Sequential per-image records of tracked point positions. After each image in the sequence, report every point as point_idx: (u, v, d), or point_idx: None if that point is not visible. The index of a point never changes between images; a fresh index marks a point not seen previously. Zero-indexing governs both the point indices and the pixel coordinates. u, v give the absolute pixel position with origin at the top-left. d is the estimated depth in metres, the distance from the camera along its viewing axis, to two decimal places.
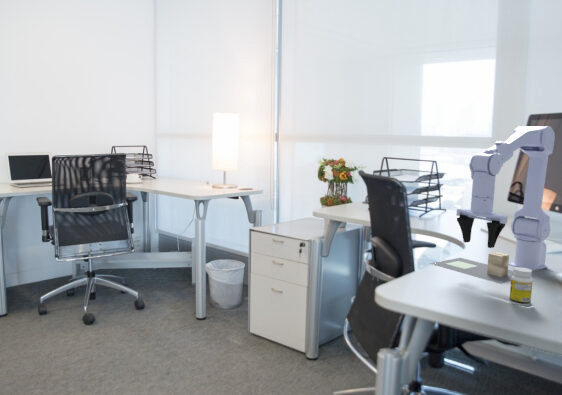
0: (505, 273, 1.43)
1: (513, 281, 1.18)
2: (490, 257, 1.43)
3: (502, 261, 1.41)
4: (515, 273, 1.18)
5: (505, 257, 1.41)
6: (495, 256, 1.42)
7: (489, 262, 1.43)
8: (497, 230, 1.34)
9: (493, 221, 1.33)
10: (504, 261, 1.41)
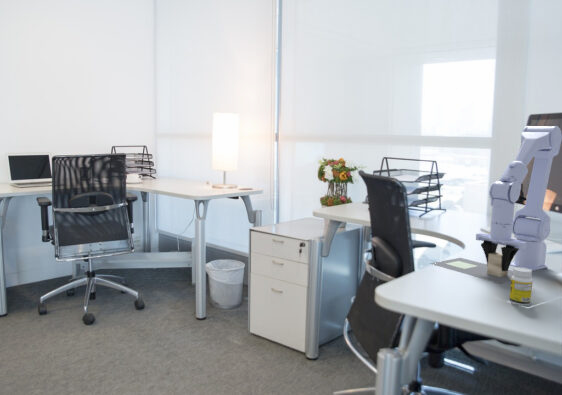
0: (505, 273, 1.43)
1: (513, 281, 1.18)
2: (490, 257, 1.43)
3: None
4: (515, 273, 1.18)
5: None
6: (495, 256, 1.42)
7: (489, 262, 1.43)
8: (511, 254, 1.41)
9: (512, 247, 1.39)
10: None
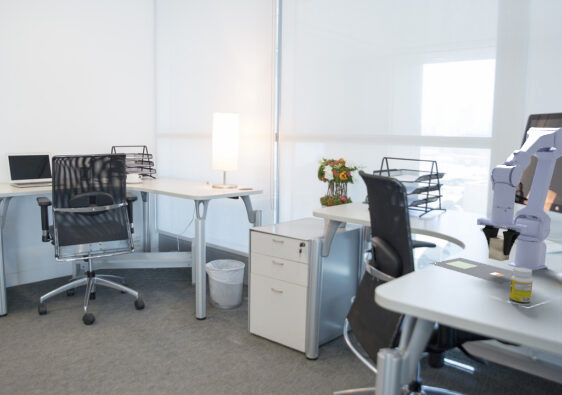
0: (507, 257, 1.42)
1: (513, 281, 1.18)
2: (491, 241, 1.42)
3: (503, 246, 1.40)
4: (515, 273, 1.18)
5: None
6: (496, 240, 1.41)
7: (490, 247, 1.43)
8: (512, 238, 1.40)
9: (514, 231, 1.38)
10: None
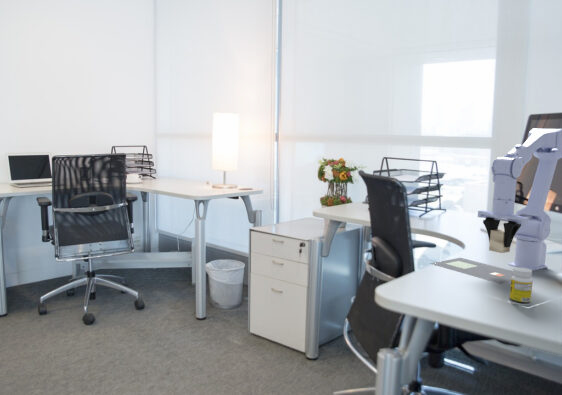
0: (507, 249, 1.42)
1: (513, 281, 1.18)
2: (492, 233, 1.42)
3: None
4: (515, 273, 1.18)
5: None
6: (497, 232, 1.41)
7: (491, 239, 1.42)
8: (513, 230, 1.40)
9: (514, 222, 1.38)
10: None
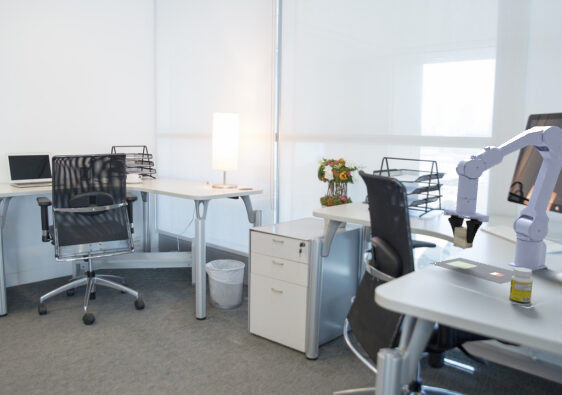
0: (470, 245, 1.51)
1: (513, 281, 1.18)
2: (456, 230, 1.52)
3: None
4: (515, 273, 1.18)
5: None
6: (460, 229, 1.51)
7: (455, 235, 1.52)
8: (475, 227, 1.50)
9: (476, 220, 1.48)
10: None
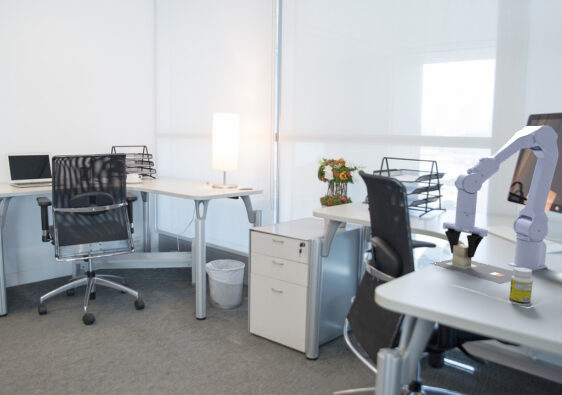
0: (469, 263, 1.52)
1: (513, 281, 1.18)
2: (455, 249, 1.53)
3: (465, 253, 1.50)
4: (515, 273, 1.18)
5: None
6: (459, 248, 1.51)
7: (454, 253, 1.53)
8: (476, 242, 1.50)
9: (475, 234, 1.48)
10: (467, 252, 1.51)
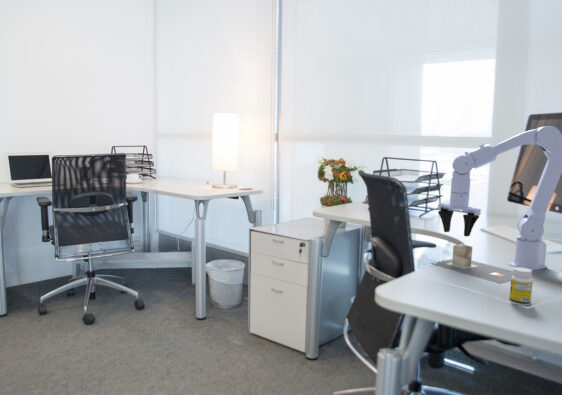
0: (469, 263, 1.52)
1: (513, 281, 1.18)
2: (455, 249, 1.53)
3: (465, 253, 1.50)
4: (515, 273, 1.18)
5: (468, 248, 1.51)
6: (459, 248, 1.51)
7: (454, 253, 1.53)
8: (472, 221, 1.57)
9: (468, 213, 1.56)
10: (467, 252, 1.51)
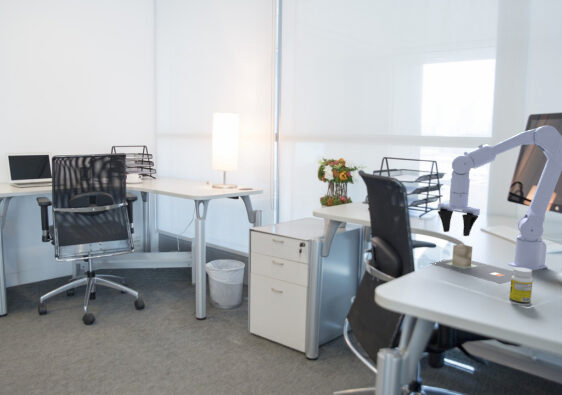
0: (469, 263, 1.52)
1: (513, 281, 1.18)
2: (455, 249, 1.53)
3: (465, 253, 1.50)
4: (515, 273, 1.18)
5: (468, 248, 1.51)
6: (459, 248, 1.51)
7: (454, 253, 1.53)
8: (471, 221, 1.58)
9: (468, 213, 1.57)
10: (467, 252, 1.51)
